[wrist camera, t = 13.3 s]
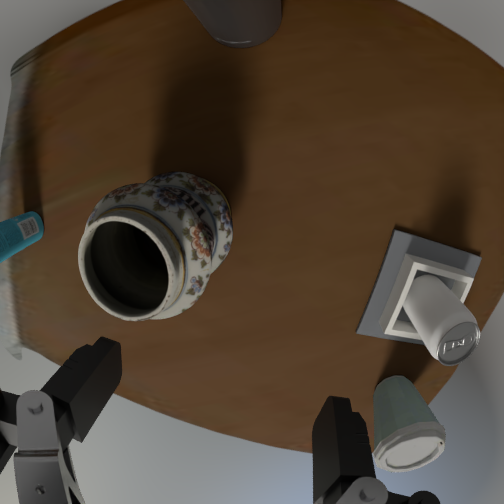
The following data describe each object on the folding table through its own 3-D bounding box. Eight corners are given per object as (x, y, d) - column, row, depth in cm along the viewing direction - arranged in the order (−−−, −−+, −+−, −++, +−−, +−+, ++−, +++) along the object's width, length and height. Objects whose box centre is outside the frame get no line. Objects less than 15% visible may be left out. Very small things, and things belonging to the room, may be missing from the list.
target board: (393, 228, 36) (403, 237, 32) (479, 256, 35) (492, 265, 32) (355, 331, 41) (360, 345, 37) (439, 345, 40) (447, 358, 37)
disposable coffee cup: (375, 417, 46) (390, 485, 32) (348, 385, 44) (362, 461, 30) (428, 387, 43) (455, 452, 29) (407, 351, 41) (439, 422, 27)
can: (441, 310, 38) (478, 359, 27) (401, 320, 39) (430, 375, 28) (442, 268, 36) (487, 311, 25) (400, 278, 37) (436, 327, 26)
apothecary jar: (138, 180, 37) (43, 211, 20) (228, 157, 35) (175, 168, 18) (162, 268, 41) (92, 344, 24) (249, 254, 39) (220, 338, 22)
